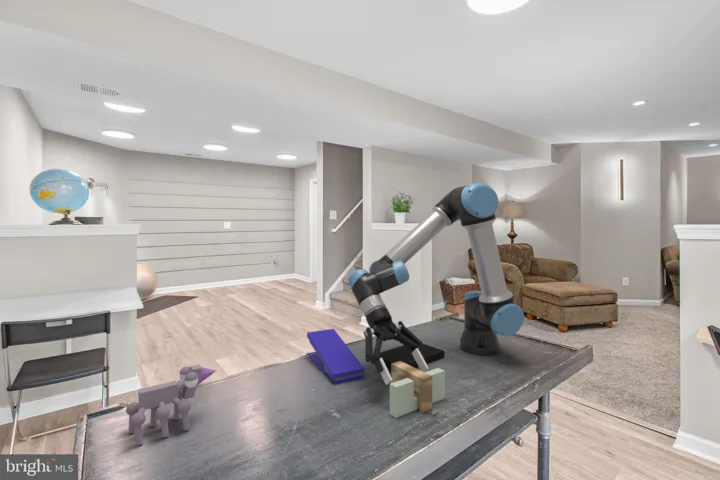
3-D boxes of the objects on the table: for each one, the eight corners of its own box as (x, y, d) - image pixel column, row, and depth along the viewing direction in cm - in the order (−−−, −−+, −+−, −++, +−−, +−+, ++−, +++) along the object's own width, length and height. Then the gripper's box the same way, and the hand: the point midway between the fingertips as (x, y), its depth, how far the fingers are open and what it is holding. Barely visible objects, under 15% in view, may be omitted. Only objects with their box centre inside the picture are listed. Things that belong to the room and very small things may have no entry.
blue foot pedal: (331, 351, 139) (331, 327, 139) (366, 378, 115) (366, 348, 114) (304, 357, 134) (303, 331, 133) (334, 386, 109) (333, 355, 109)
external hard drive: (444, 358, 132) (444, 350, 131) (400, 375, 117) (400, 366, 117) (415, 348, 143) (415, 341, 142) (372, 362, 128) (372, 354, 128)
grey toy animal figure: (212, 404, 98) (211, 356, 97) (224, 421, 89) (222, 368, 89) (126, 430, 86) (124, 375, 85) (130, 452, 77) (128, 391, 77)
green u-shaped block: (438, 395, 103) (438, 367, 102) (444, 398, 100) (444, 370, 100) (389, 413, 92) (389, 383, 92) (395, 418, 90) (395, 387, 90)
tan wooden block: (391, 393, 103) (391, 363, 103) (400, 390, 105) (400, 360, 105) (422, 413, 93) (422, 379, 92) (432, 409, 95) (432, 376, 94)
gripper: (400, 313, 121) (432, 371, 109) (337, 325, 107) (366, 393, 95) (411, 301, 116) (445, 360, 104) (346, 311, 102) (378, 381, 90)
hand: (408, 376), depth 100 cm, fingers open, 13 cm apart
